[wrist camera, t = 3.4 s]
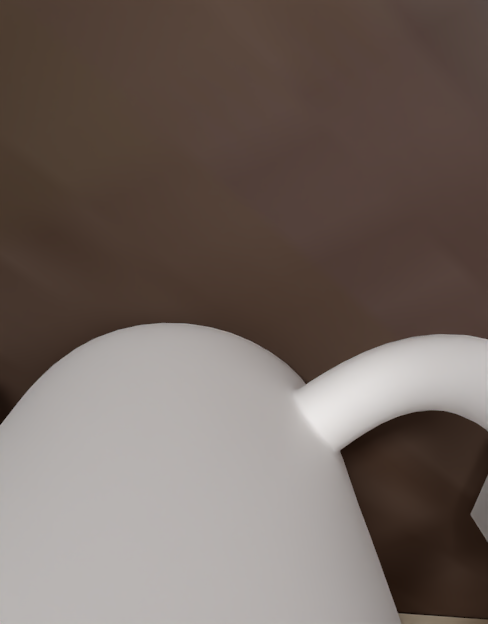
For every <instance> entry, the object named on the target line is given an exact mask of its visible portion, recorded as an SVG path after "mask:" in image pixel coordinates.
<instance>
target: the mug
mask: <svg viewBox="0 0 488 624" xmlns="http://www.w3.org/2000/svg"><path fill="white" fill-rule="evenodd" d="M428 410H437V411H447V412H451V413H454V414H458V415H460V416H462V417H465V418H467V419H469V420H471V421H473V422H475V423H477V424H479V425H480V426H482V427H483V428H485V429H486V430H487V431H488V339H483V338H478V337H473V336H468V335H448V334H435V335H426V336H417V337H410V338H406V339H402V340H398V341H394V342H390V343H387V344H384V345H381V346H379V347H376V348H373V349H371V350H368V351H365V352H363V353H361V354H359V355H357V356H355V357H353V358H351V359H349V360H347V361H345V362H343V363H341V364H339V365H337V366H336V367H334V368H332V369H330V370H328V371H327V372H325V373H323V374H322V375H320V376H318V377H317V378H315V379H314V380H312V381H310V382H309V383H307V384H305V382H304V381H303V380H302V378H301V377H300V376H299V375H298V374H297V373H296V372H295V371H294V370H293V369H292V368H291V367H289V366H288V365H287V364H286V363H285V362H283V361H282V360H281V359H279V358H278V357H277V356H275V355H274V354H273V353H271V352H270V351H268V350H266V349H264V348H262V347H261V346H259V345H257V344H255V343H254V342H252V341H249V340H247V339H245V338H242V337H240V336H237V335H235V334H233V333H230V332H226V331H223V330H219V329H215V328H211V327H207V326H200V325H193V324H186V323H157V324H146V325H138V326H134V327H129V328H125V329H120V330H116V331H114V332H111V333H108V334H105V335H103V336H100V337H97V338H95V339H93V340H91V341H89V342H87V343H85V344H83V345H81V346H80V347H78V348H76V349H75V350H73V351H72V352H70V353H69V354H68V355H66V356H65V357H63V358H62V359H61V360H59V361H58V362H57V363H55V364H54V365H53V366H52V367H51V368H50V369H49V370H48V371H46V372H45V373H44V374H43V375H42V376H41V377H40V378H39V379H38V380H37V381H36V382H35V383H34V384H33V385H32V386H31V388H30V389H29V390H28V391H27V392H26V393H25V394H24V396H23V397H22V398H21V399H20V401H19V402H18V403H17V404H16V406H15V407H14V408H13V409H12V411H11V412H10V413H9V415H8V416H7V417H6V418H5V420H4V421H3V422H2V424H1V425H0V624H401V621H400V618H399V615H398V612H397V609H396V607H395V604H394V601H393V598H392V595H391V593H390V590H389V587H388V584H387V581H386V578H385V576H384V573H383V570H382V567H381V564H380V562H379V559H378V556H377V553H376V551H375V548H374V545H373V542H372V540H371V537H370V534H369V531H368V529H367V526H366V523H365V521H364V518H363V515H362V513H361V510H360V507H359V504H358V502H357V499H356V496H355V493H354V490H353V487H352V484H351V481H350V478H349V475H348V472H347V469H346V466H345V463H344V460H343V458H342V455H341V452H340V450H341V449H343V448H344V447H345V446H347V445H348V444H350V443H351V442H352V441H354V440H355V439H357V438H358V437H360V436H361V435H363V434H365V433H366V432H368V431H370V430H371V429H373V428H375V427H377V426H378V425H380V424H382V423H384V422H387V421H389V420H391V419H393V418H396V417H398V416H402V415H405V414H409V413H412V412H419V411H428Z"/></svg>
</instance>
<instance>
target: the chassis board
mask: <svg viewBox="0 0 488 624" xmlns="http://www.w3.org/2000/svg"><path fill="white" fill-rule="evenodd" d="M398 615H399V618H400V621H401V624H488V620H485V619H471V618H458V617H444V616H430V615H416V614H402V613H398Z"/></svg>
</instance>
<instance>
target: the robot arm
mask: <svg viewBox="0 0 488 624" xmlns="http://www.w3.org/2000/svg"><path fill="white" fill-rule="evenodd" d="M470 515H471V517H472V518H473V520H474V521H475V523H476V524H477V526H478V528H479V529H480V531H481V532H482V534H483V535H484V537H485V539H486V540H487V542H488V476H487V478H486V480H485V482H484V485H483V487H482V489H481V492H480V494H479V496H478V498H477V501H476V503H475V505H474V507H473V510H472V512H471V514H470Z"/></svg>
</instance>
